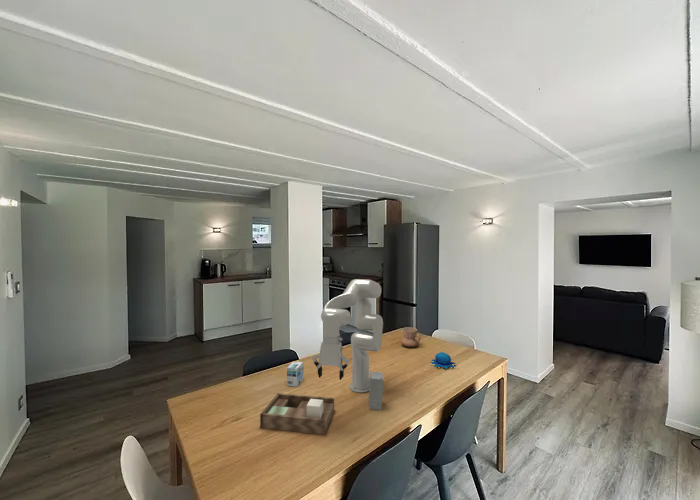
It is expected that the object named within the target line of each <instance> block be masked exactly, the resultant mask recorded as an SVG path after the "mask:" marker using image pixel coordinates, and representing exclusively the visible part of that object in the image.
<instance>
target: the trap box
mask: <svg viewBox="0 0 700 500" xmlns="http://www.w3.org/2000/svg"><path fill="white" fill-rule="evenodd" d="M310 399H320V400H323V414H322V417H321V419H320V418H310V417H307V404H308V402H309V401H310ZM334 411H335V398H334V397H326V396H314V395H304V394H303V395H302V394H292V393H278V392H277V394H276V395H275V396H274V397H273V398H272V400H271V401H270V402H269V403H268V405H267V406H266V407H265V408H264V409H263V410H262V412H261V413H260V416H259V418H260V419H259V423H260V425H259V426H260V427H259V428H260V429H266V430H267V429H269V430H276V431H278V430H279V431H285V432H286V431H287V432H296V433H306V434H315V435H322V436H323V435H324V436H325V434H326V432H327V430H328V427H329V425H330V422H331V420H332V417H333V414H334Z"/></svg>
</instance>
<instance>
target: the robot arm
mask: <svg viewBox="0 0 700 500" xmlns="http://www.w3.org/2000/svg"><path fill="white" fill-rule="evenodd" d="M381 294H382V286H381V285H380V284H379V283H378V282H376V281H375V280H372V279H365V278H363V279H360V278H355V279H352V280H350V282H349V283H348V284H347V286H346V288H345V289H344V290H343V293H342V294H340V295H337V296H335V297H333V298H331V300H329V301H328V302H326V304H325V306H324V307H323V309H322V311H321V313H320V319H321V322H322V341H321V343H320V348H319V353H318V354H317V355H314V356H313V357H312V362H313V364H314V366H315V367H316V369H317V376H318V378H321V377H322V376H323V367H322V366H329V367H330V366H331V367H338V369H339V380H340V381H341V380H342V379H343V378H344V374H345V373H344V371H345V370H346V368H347V367H348V365H349V363H350V361H351V359H349V358H347V357H345V355H343V345H342V342H343V337H341V335H340V328H341V327H343V326H347V325H348V324H350V322H351V320H352V314H351V312H350V311H349V310H347V308H350V307H353V306H355V305H356V306H357V307H356V316H355V327H356V329H358V330H362V331H357V332H353V333H352V334H351V336H350V345H351V352H352V353H351V354H352V363H351V364H352V367H351V368H352V369H351V370H352V375H351V376H352V377H351V380H352V381H351V383H349V389H350V391H352V392H354V393H360V394H361V393H369V388H370V356H369V353H368V351H369V352H373V353H374V352H375V353H376V352H379V351H380V350H381V347H382V341H383V330H384V321H383V320H384V319H383V317H382V316H381V315H380V314H376V313H375V314H374V313H372V309H373V308H372V307H373V306H372V302H371V301H370V299H379V298H380V297H381ZM363 331H368V332H363ZM370 332H373V333H370ZM317 359H318V360H317ZM343 361H344V362H345V364H343V363H344V362H343Z"/></svg>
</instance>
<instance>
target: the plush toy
mask: <svg viewBox="0 0 700 500" xmlns="http://www.w3.org/2000/svg"><path fill="white" fill-rule="evenodd" d="M434 358H435V359H431V360H432V361H434V362H431V361H430V363H432V364H435V365H434V368H435V367H441V368H442V367H443V368H445V369H448V367H452V368H454V367H455V366H453V365H452V364H456V363H455V362H454V361H452V357H451V356H450V354H449V353H446V352H444V351H443V352H438V353H436V354H435V355H434ZM443 368H442V369H443ZM445 369H444V370H445ZM448 370H449V369H448Z"/></svg>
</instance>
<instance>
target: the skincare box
mask: <svg viewBox="0 0 700 500" xmlns="http://www.w3.org/2000/svg"><path fill="white" fill-rule="evenodd" d="M369 378H370V388H369V391H368V408H369V410H381V411H382V410H383V394H384V393H383V392H384V374H383V372H382V371H369Z"/></svg>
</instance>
